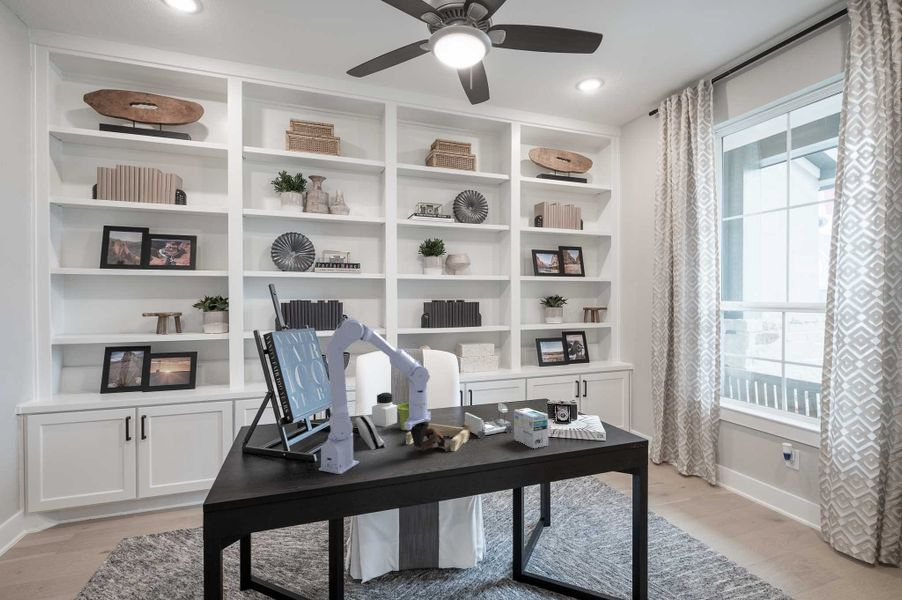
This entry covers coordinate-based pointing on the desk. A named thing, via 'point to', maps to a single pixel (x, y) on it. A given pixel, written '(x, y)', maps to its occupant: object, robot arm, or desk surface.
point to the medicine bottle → (384, 410)
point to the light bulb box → (531, 427)
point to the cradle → (448, 434)
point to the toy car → (488, 423)
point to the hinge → (369, 432)
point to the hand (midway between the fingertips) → (418, 446)
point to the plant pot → (403, 414)
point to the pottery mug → (432, 440)
